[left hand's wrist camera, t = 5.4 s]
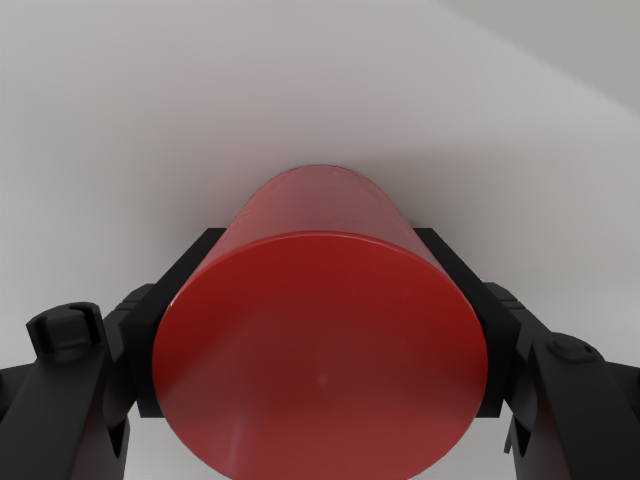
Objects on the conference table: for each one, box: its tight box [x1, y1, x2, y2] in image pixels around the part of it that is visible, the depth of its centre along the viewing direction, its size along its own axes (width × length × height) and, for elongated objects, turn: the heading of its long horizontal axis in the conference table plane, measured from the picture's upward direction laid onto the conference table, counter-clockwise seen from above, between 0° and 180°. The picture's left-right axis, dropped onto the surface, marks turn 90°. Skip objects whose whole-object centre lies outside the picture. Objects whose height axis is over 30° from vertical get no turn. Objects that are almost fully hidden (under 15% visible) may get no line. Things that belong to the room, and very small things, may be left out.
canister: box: [152, 165, 488, 480], centre depth 11 cm, size 7×7×8 cm
